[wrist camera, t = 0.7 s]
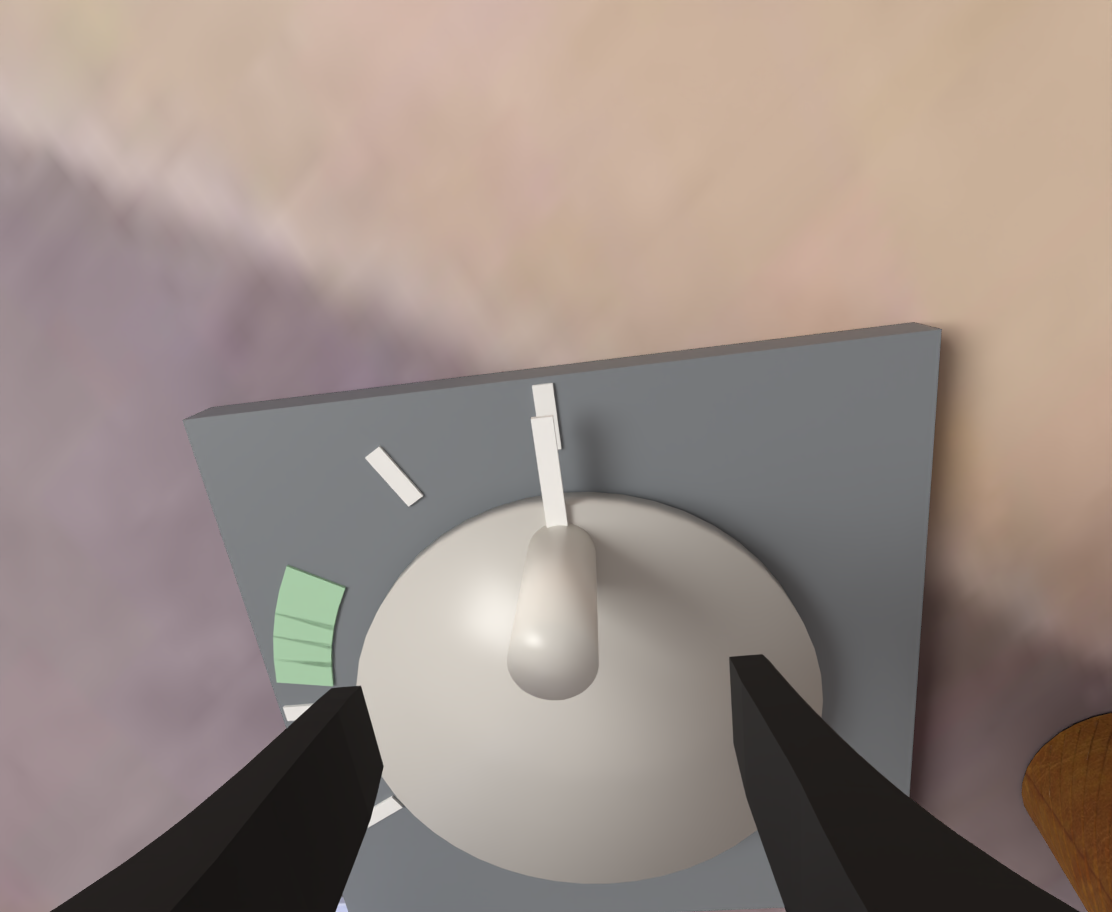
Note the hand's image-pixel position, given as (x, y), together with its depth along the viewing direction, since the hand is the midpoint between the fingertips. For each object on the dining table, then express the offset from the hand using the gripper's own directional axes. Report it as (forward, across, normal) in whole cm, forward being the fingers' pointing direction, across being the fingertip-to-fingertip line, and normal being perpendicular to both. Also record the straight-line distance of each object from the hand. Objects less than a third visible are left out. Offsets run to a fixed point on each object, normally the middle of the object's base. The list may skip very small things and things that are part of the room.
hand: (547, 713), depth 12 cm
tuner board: (+9, 0, +6) cm, 11 cm away
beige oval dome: (+8, 0, +5) cm, 9 cm away
